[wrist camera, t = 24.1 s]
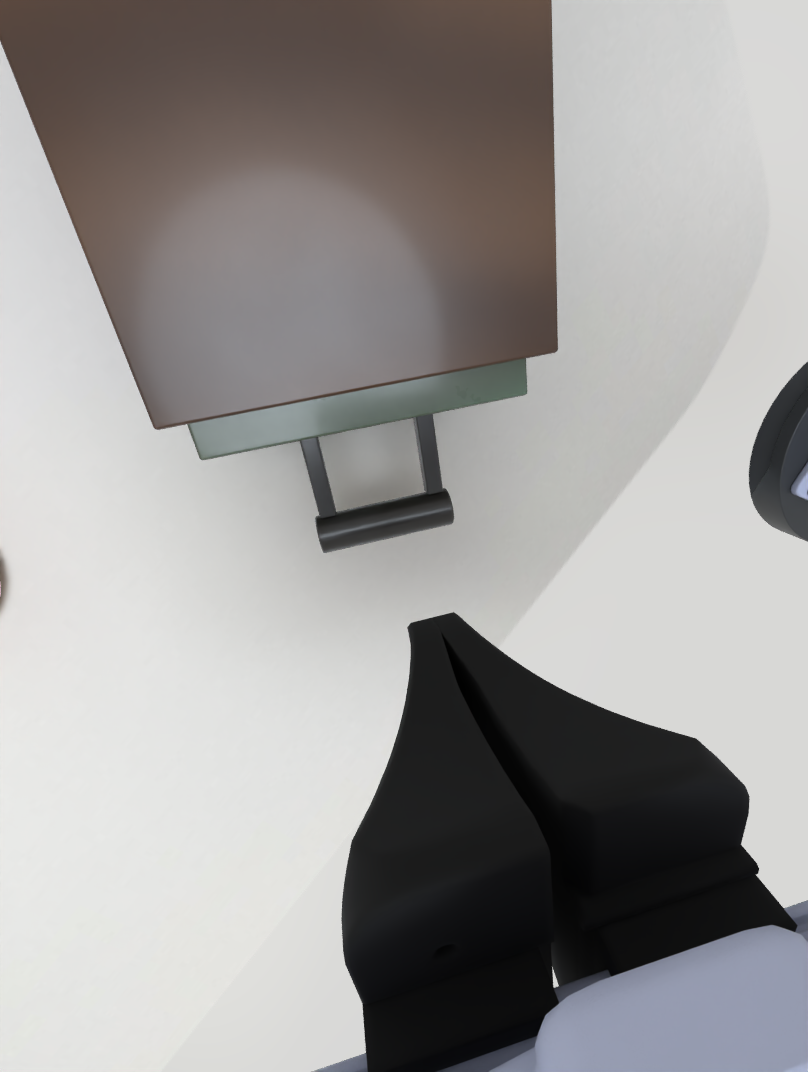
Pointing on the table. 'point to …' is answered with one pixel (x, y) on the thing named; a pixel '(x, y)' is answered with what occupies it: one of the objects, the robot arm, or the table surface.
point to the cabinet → (301, 186)
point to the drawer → (362, 412)
